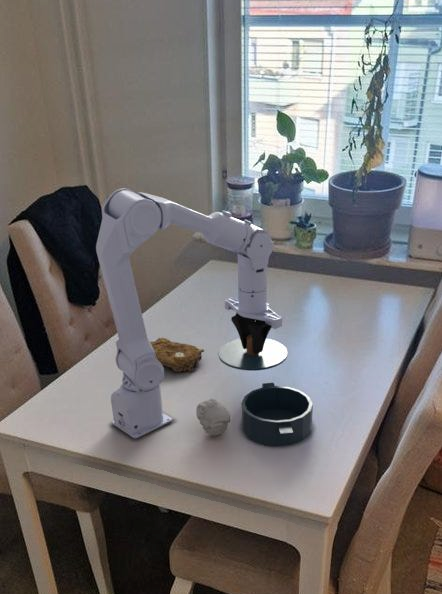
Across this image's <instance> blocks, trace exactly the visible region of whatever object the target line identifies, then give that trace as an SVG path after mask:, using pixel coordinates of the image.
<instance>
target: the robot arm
mask: <svg viewBox="0 0 442 594" xmlns="http://www.w3.org/2000/svg"><path fill="white" fill-rule="evenodd" d="M232 215H233V214H232V213H231V212H229V211H227V210H222V211H221V212H220V211H214V212H212V213H210V214H208V215H206V214H204V213H201V212H199V211H196V210H194V209H191V208H188V206H184V205H182V204H179V203H177V202H174V201H172V200H169V199H167V198H164V197H161V196H158V195H154V194H150V193H147V192H143V191H142V192H141V191H138V192H137V193H136V192H135V191H134V190H132V189H129V188H125V187H123V188H119V189H116V190H114V191H113V192H112V193H111V194H110V195H109V197H108V198H107V199H106V201H105V202H104V204H103V205H102V207H101V217H102V218H101V223H100V227H99V231H98V236H97V240H96V243H95V252H96V255H97V259H98V263H99V267H100V270H101V275H102V278H103V282H104V287H105V290H106V294H107V298H108V302H109V306H110V309H111V314H112V317H113V322H114V326H115V329H116V333H117V337H118V339H117V340H116V341H115V345H116V355H115V364H116V367H117V368H118V370H120V371H122V379H121V380H122V381H121V385H120V386H119V388H118V389H117V390H115V391H113V392H112V393H111V396H110V404H111V411H112V418H113V420H112V421H111V424H112V425H113V426H115V427H116V428H117V429H119V430H120V431H122V432H124V433H125V434H127V435H128V436H130V437H131V438H132V439H138V438H141V437H142V436H144V435H146V434H148V433H151V432H152V431H155V430H158V429H159V428H161V427H163V426H165V425H167V424H169V423H171V422H172V421H173V418H172V417H171V416H169V415H167V414H166V413H164V412H163V401H162V400H163V399H162V390H161V383H162V381H163V380H164V376H165V368H164V365H162V364H161V363H160V362H159V361H158V360H157V358H156V354H155V351H154V349H153V347H152V345H151V343H150V342H151V341H150V340H149V338H148V334H147V331H146V330H147V329H146V326H145V320H144V316H143V313H142V308H141V305H140V304H141V303H140V300H139V295H138V291H137V286H136V282H135V278H134V277H135V276H134V274H133V269H132V264H131V260H130V257H131V255H132V254H133V253H134V251H135V250H136V249H138V247H140V246H142V244H144V243H145V242H146V241H147V240H149V239H150V238H151V237H152V236H154V234H156V233H157V232H158V230H159V229H160V230H161V231H164V230H165V229H166V228H168V227H169V226H170V225H174V226H178V227H181V228H185V229H187V230H191V231H194V232H197V233H200V234H202V236H203V239H204V240H205V242H206V243H207V244H209V245H212V246H216V247H219V248H222V249H224V250H226V251H227V250H228V251H230V252H233V253H237V297H238V298H235V297H229V298H227V299H225V300H224V309H225V310H228V311H229V310H231V311H235V314H234V315H233V316H231V322H232V323H233V325H234V327H235V329H236V331H237V333H238V336H239V339H240V340H241V343H242V346H243V349H247V336H248V335H251V337H252V347H253V353H254V354H258V353H260V352H262V351H263V347H264V344H265V340H266V339H268V335H269V333H270V331H271V329H274V330H277V329H279V328H281V327H283V316H281V315H278V314H277V313H276V312H274V311H273V309H271V308H270V303H268V265H269V259H270V256H271V254H272V252H273V250H274V247H275V242H274V241H272V236H271V234H269V231H267V230H265V229H264V228H261V227H260V226H257V225H254V224H253V223H252V221H250V220H248V219H244V220H240V219H238V218H235V217H233V216H232Z"/></svg>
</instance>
